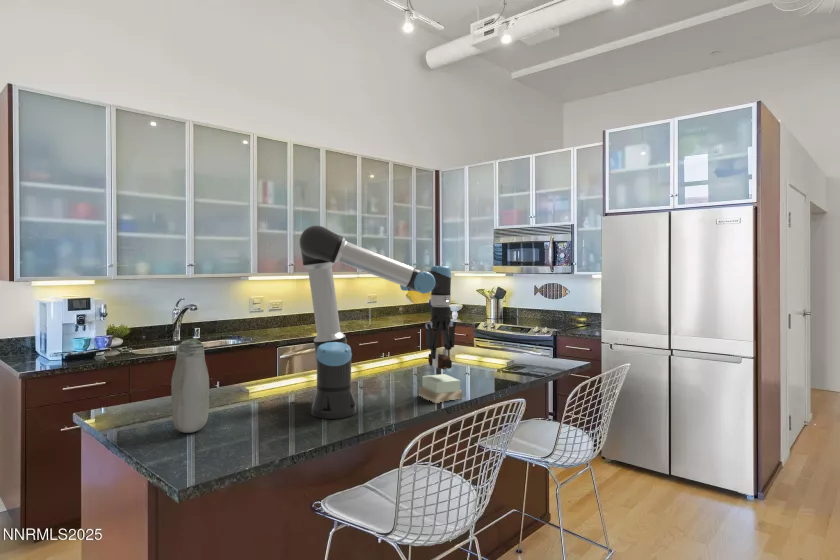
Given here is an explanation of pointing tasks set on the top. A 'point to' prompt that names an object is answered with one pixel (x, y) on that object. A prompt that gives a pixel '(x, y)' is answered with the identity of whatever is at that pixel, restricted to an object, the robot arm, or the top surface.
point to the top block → (441, 383)
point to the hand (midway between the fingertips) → (440, 366)
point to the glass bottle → (190, 387)
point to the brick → (441, 361)
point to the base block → (439, 395)
